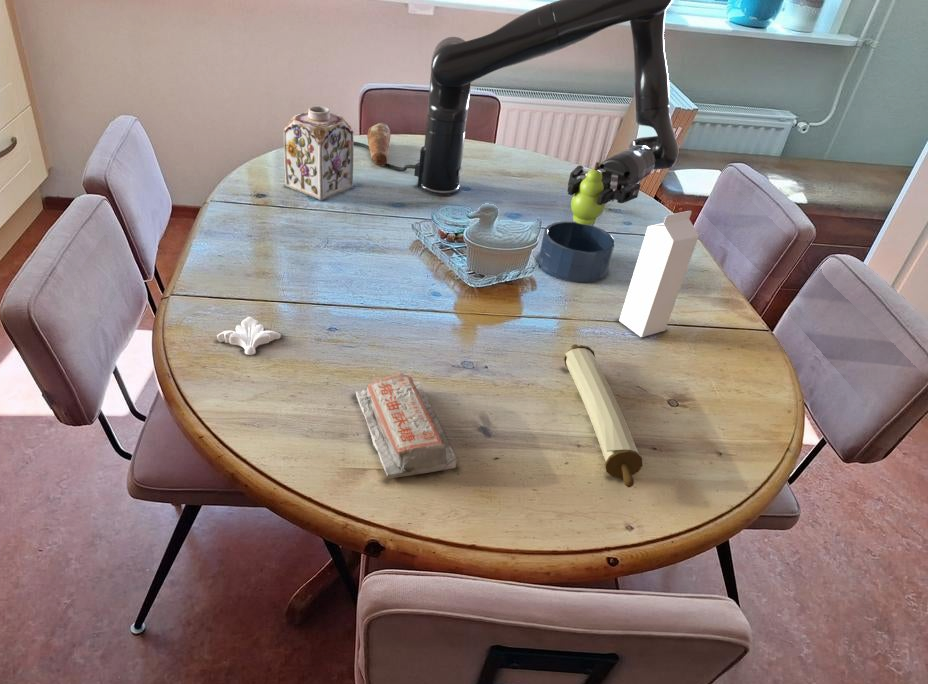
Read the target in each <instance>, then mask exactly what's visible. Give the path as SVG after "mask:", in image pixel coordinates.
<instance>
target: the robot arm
mask: <svg viewBox="0 0 928 684" xmlns="http://www.w3.org/2000/svg"><path fill="white" fill-rule="evenodd" d="M673 2H674V0H555V1H553V2H550V3H546V4H543V5H541V6H539V7H536V8H533V9H531V10H528V11H527V12H525V13H523V14H521V15H519V16H517V17H515V18H513V19H512V20H510V21H509V22H507V23H506V24H504V25H502V26H501V27H500V28H497V29H496V30H495V31H492V32H491V33H489V34H485V35H482V36H480V37H477V38H472V39H470V40H465V39H463V38H461V37H459V36H449V37H446V38H444V39H442V40H441V41H440V42H439V43H438V44H437V45H436V46H435V48H434V50H433V53H432V57H431V62H430V77H429V79H430V81H429V89H428V99H427V110H426V124H425V135H424V145H423V146H422V147H420V153H419V162H417V163H415V164H405V165H404V166H397V165H394V164H391V163H388V162H387V163H386V164H385V165H384V166H383V167H385V168H387V169H391V170H395V171H399V172H405V171H407V170H409V169H411V170H414V172H413V173H414V174H413V176H414V177H416V178H417V187H418V188H421V189H422V190H423V191H424V192H426V193H429V194H432V195H440V196H449V195H454V194H457V192H459V189H460V178H461V174H462V172H463V167H462V162H463V154H464V146H465V137H466V129H467V120H468V114H469V105H470V97H471V86H472V82H474V81H476V80H478V79H481V78H482V77H484V76H487V75H489V74H491V73H494V72H496V71H499V70H501V69H504V68H507V67H512V66H515V65H519V64H522V63H525V62H529V61H532V60H535V59H537V58H540V57H544V56H547V55H550V54H552V53H556V52H558V51H560V50H561V51H562V50H564V49H567V48H569V47H572V46H573V45H576V44H578V43H580V42H583V41H584V40H587V39H588V38H590V37H592V36H594V35H595V34H597V33H599V32H602V31H603V30H605V29H608V28H610V27H613V26H616V25H620V24H624V23H628V22H629V25H630V29H631V36H632V37H631V38H632V45H633V48H632V49H633V65H634V66H633V67H634V68H633V69H634V71H633V72H634V73H633V75H634V76H633V77H634V81H633V82H634V85H633V86H634V119H635V123H636V124H637V125H639V126H642V127H648V128H652V129H653V130H654V132H655V133H656V135H653V136H644V137H642V136H641V137H637V138H634V139H633V140H632V141H631V142H630V143H629V145H628V147H627V149H625V150H622V151H620V152H617V153H616V154H613V155H612V156H611V157H609V158H607V159H605V160H604V161H602V162H601V163H599V166H598V170H599V171H600V172H601V173H602V180H601V181H602V182H603V185H604V190H603V192H601V193H600V194H599V197H598V202H597V204H598V205H602V204H605V205H606V204H608V203H610V202H614V201H615V200H616V202H617V203H619V204H624V203H627V202H630V201H631V200H634V199H638V196H639V192H640V190H641V189H640V188H641V186H642V185H641V184H640V182H641V181H642V180H643V179H645V178H647V176H649V175H650V174H651V173H652V171H653V170H664V169H666V170H667V169H670V168H672V167H673V166H674V165H675V164H676V162H677V160H678V158H679V152H680V149H679V143H678V140H677V136H676V133H675V131H674V127H673V123H672V118H671V114H670V82H669V81H670V80H669V73H668V65H667V59H666V52H665V39H664V38H665V37H664V34H665V33H664V32H665V21H666V20H665V19H666V13H667V12H666V11H667V9H668V8H669V7H670V6H671V4H672V3H673ZM353 142H354V146H357V147H360V148H364V149H366V150H367V151H369V152H370V149H369V144H366V143H363V142H358V141H353ZM588 172H589V170H585V169H584V166H583V165H581V164H579V165H577V166H576V167H575V168H574V169H573V170H572V171H571V172H570V174H569V178H568V183H567V190H566V192H567V194H568V195H569V196H574V194H575V193H576V192H577V191H578V190H579V186H580V184H581V182H582V181H583V180H584V179H585V178H586V175H587V173H588Z"/></svg>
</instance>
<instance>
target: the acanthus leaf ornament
mask: <svg viewBox="0 0 928 684" xmlns="http://www.w3.org/2000/svg"><path fill="white" fill-rule="evenodd" d="M258 323H259V321H258V320H256V319H254V317H252V316H247V317H246V318H244V319H243V320H242V321H241V323H240V324H237V325H236V326H235V330H224V331H222V332H220V333H218V334H217V336H216V338H217V340H218V342H219V343H226V344H229V345H233V346H239V347H241V348H243V349H244V354H246V355H248V356H253V355H255V354H256V352H257V351H256V348H257V347H258V346H260V345H265V344H269V343H270V342H272V341H274V340H279V339H281V333H279V332H277V331H273V330H264V326H263V324H260V323H259V324H258Z"/></svg>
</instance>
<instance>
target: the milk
mask: <svg viewBox="0 0 928 684" xmlns="http://www.w3.org/2000/svg"><path fill="white" fill-rule="evenodd" d="M691 215H692V210H686V211H682V212H676V213H671V214H666V215H665V217H664V221H663V222H662V223H657V224H652V225H648V226H647V228H646V230H645V235H644V238H643V241H642V244H641V246H640V247H641V248H640V249H639V254H638V257H637V261H636V264H635V266H634V270H633V274H632V277H631V280H630V284H629V286H628V290H627V293H626V297H625V300H624V303H623V306H622V310H621V312H620V316H619V320H618V321H619V322H620V323H621V324H623V325H624V326H625V327H627V328H628V330H630V331H632V332H633V333H635V334H636V335H637V336H639V337H640V338H645V337H648V336H652V335H654V334H658V333H662V332H666V330H667V326H668V324H669V320H670V318H671V315H672V313H673V310H674V307H675V304H676V302H677V299H678V296H679V293H680V290H681V288H682V285H683V281H684V279H685V276H686V274H687V271H688V267H689V266H690V262H691V259H692V256H693V253H694V251H695V248H696V246H697V243H698V240H699V237H700V234H699V233H698V232H697V230H696V228H695V227H694V225H693V223H692V221H691V220H690V218H691Z"/></svg>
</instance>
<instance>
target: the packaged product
mask: <svg viewBox="0 0 928 684" xmlns="http://www.w3.org/2000/svg"><path fill="white" fill-rule="evenodd" d="M355 393H356V394H355V395H356V400H357V402H358V404H359V407H360V410H361V412H362V414H363V416H364V419H365V421H366V425H367V428H368V430H369V433H370V437H371V441H372V445H373V447H374V448H375V451H376V452H377V454H378V457H379V461H380V463H381V465H382V468H383V469H384V472H385V474H386V477H387V479H388V480H389V479H390V480H391V479H395V478H396V479H397V478H403V477H409V476H416V475H421V474H427V473H434V472H439V471H447V470H452V469H456V466H457V461H458V457H456V455H455V452H454V451H453V449H452V446H451V444H450V442H449V440H448V438H447V436H446V435H445V432H444V430H443V428H442V426H441V423H440V422H439V420H438V418H437V415H436V413H435V412H434V410H433V407H432V406H431V403H430V402H429V399H428V397H427V395H426V393H425V391H424V389H423V387H422V385H421V383H420V381H419V380H417V381H416V380H415V381H414V380H413V378H412V376H411V374H408V373H402V372H399V373H393V374H391V375H389V376H386V377H383V378H381V379H380V378H379V379H376V380H374V381H372V382H369V384H368V385H367V388H366V389H365V388H363V389H362V390H355Z"/></svg>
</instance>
